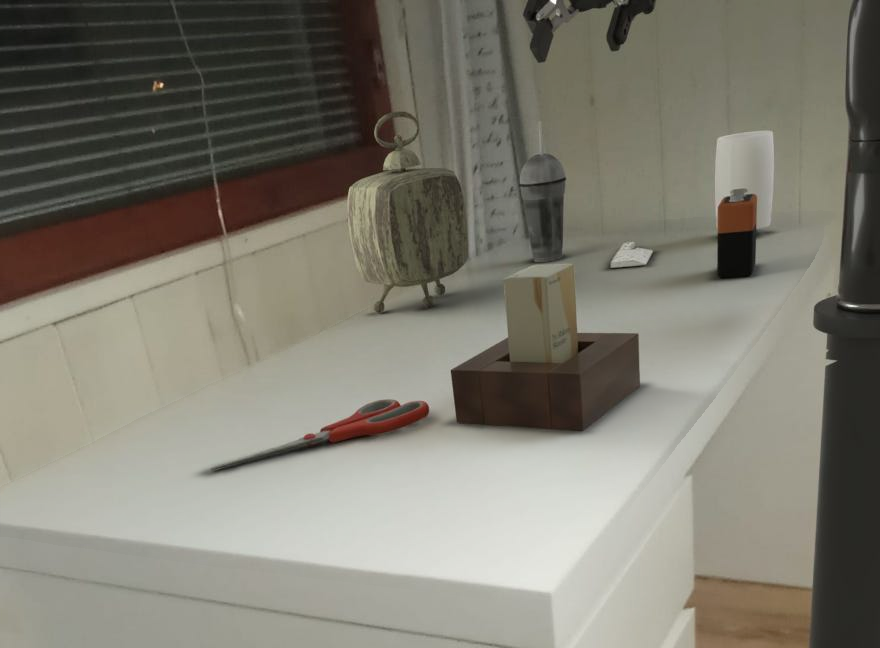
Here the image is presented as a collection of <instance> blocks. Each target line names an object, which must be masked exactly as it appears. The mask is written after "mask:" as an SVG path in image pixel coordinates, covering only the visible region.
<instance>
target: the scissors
mask: <svg viewBox="0 0 880 648" xmlns="http://www.w3.org/2000/svg"><path fill="white" fill-rule="evenodd" d="M429 413H430V406H429V404H428V403H427V402H426V401H424V400H413V401H409V402H406V403H404V404H402V405H401V403H400V402H399V401H398V400H396V399H391V398H390V399H388V398H387V399H379V400H374V401H372V402H369V403H367V404H365V405H363V406H361V407H359V408H358V409H357V410H356V411H355V412H354V413H353V414H351V415H350V416H348V417H346V418H343V419H341V420H338V421H336V422H334V423H330V424H329V425H328V424H327V425H326V426H323V427H322V428H320V431H319V432H316V433H306V434H305V435H304V436H302V437H300V438H298V439H296V440H294V441H291V442H287V443H284V444H281V445H278V446H275V447H272V448H269V449H265V450H263V451H259V452H256V453H252V454H249V455H247V456H244V457H241V458H238V459H235V460H232V461H229V462H225V463H223V464H219V465H217V466H214V467H210V470H211V471H215V470H219V469H222V468H226V467H229V466H233V465H237V464H241V463H245V462H248V461H252V460H256V459H260V458H264V457H267V456H271V455H274V454H279V453H282V452H286V451H289V450H295V449H298V448H305V447H314V446H315V445H317V444H319V443H323V442H327V441H329V443H338V442H341V441H346V440H348V439H352V438H356V437H357V438H358V437H364V436H376V435H382V434H386V433H389V432H393V431H396V430H400V429H402V428H405V427H407V426H410V425H412V424H414V423H417V422H419V421H421V420H422V419H425V418H426V417H428V415H429Z"/></svg>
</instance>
